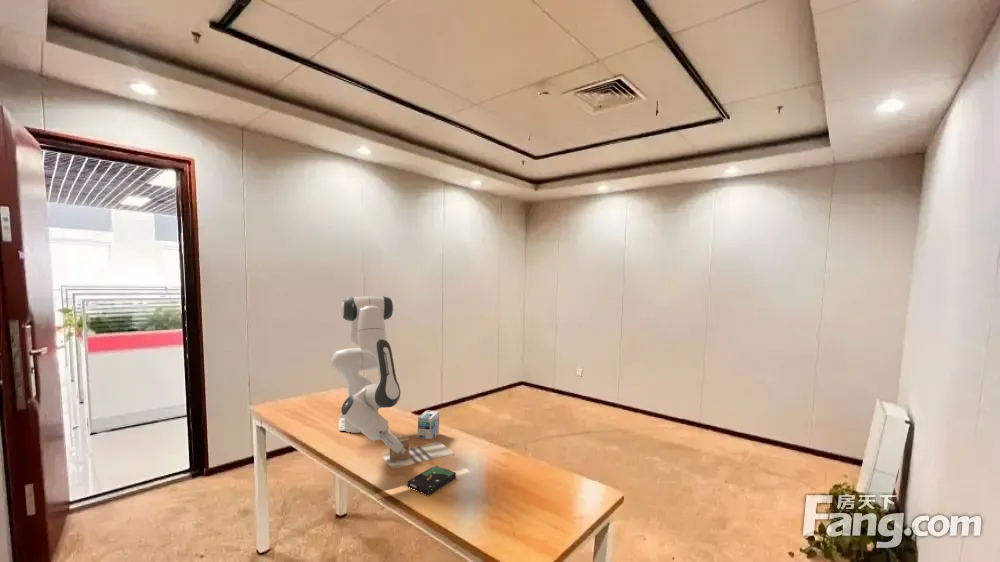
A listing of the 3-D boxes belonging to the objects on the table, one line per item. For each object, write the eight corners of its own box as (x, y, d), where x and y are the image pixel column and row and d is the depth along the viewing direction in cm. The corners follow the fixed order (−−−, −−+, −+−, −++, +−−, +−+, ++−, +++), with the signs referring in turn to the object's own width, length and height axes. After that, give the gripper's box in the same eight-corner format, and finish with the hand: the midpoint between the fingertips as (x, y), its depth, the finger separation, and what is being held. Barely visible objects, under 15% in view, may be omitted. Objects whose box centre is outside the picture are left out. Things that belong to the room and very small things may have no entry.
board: (381, 458, 164) (381, 454, 164) (439, 444, 178) (439, 441, 178) (392, 473, 152) (392, 469, 152) (454, 456, 166) (454, 453, 166)
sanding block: (389, 458, 161) (390, 438, 161) (404, 454, 164) (404, 435, 164) (393, 463, 157) (394, 442, 157) (408, 459, 160) (408, 439, 160)
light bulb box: (431, 442, 180) (431, 418, 180) (417, 441, 181) (417, 417, 181) (439, 433, 190) (439, 411, 190) (426, 432, 192) (426, 409, 191)
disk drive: (428, 498, 137) (456, 479, 149) (428, 490, 137) (456, 472, 149) (406, 488, 142) (435, 471, 155) (407, 481, 142) (435, 464, 155)
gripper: (391, 430, 148) (415, 450, 153) (374, 413, 165) (397, 432, 170) (378, 444, 145) (404, 464, 151) (363, 426, 162) (387, 445, 168)
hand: (400, 447), depth 161 cm, fingers open, 7 cm apart
